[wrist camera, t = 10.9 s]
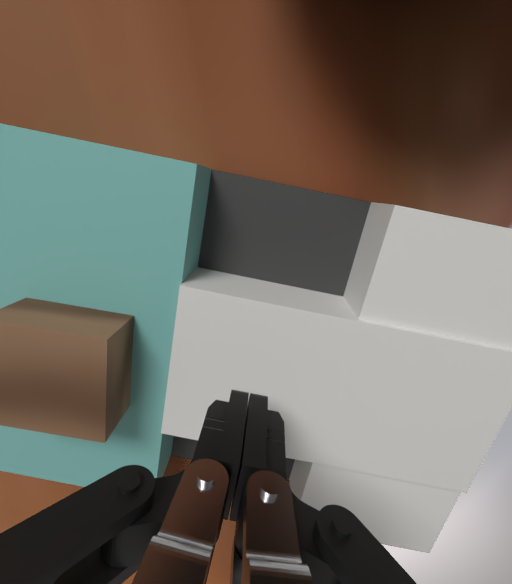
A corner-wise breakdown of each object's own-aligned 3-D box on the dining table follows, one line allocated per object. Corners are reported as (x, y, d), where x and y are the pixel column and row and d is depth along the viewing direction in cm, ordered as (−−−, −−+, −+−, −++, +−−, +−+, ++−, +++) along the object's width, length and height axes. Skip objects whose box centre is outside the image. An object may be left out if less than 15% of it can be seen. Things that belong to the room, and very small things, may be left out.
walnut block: (26, 297, 15) (-22, 318, 12) (133, 315, 15) (107, 339, 12) (32, 389, 16) (-10, 423, 14) (129, 406, 16) (104, 443, 14)
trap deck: (36, 133, 16) (-37, 115, 12) (520, 233, 16) (597, 246, 12) (41, 424, 21) (-9, 474, 18) (403, 494, 22) (431, 558, 18)
